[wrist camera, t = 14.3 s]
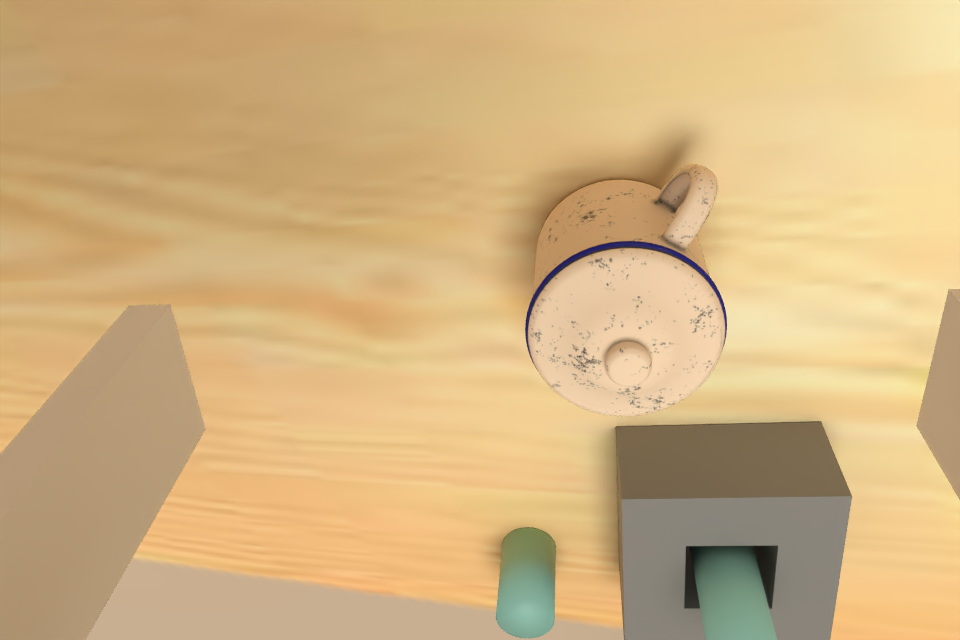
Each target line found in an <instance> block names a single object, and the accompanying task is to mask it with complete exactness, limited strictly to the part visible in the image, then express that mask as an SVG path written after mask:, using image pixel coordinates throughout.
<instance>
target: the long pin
mask: <svg viewBox="0 0 960 640" xmlns="http://www.w3.org/2000/svg"><path fill="white" fill-rule="evenodd" d="M690 551H691V557H692V563H693V569H694V575H695V580H696V586H697V592H698V598H699V604H700V610H701V616H702V621H703V627H704V633H705V639H706V640H777V637H776V633H775V629H774V625H773V622H772V618H771V614H770V610H769V606H768V602H767V598H766V594H765V591H764V587H763V583H762V579H761V575H760V571H759V567H758V564H757V560H756V556H755V552H754V548H753V546H690Z"/></svg>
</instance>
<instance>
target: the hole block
mask: <svg viewBox="0 0 960 640" xmlns="http://www.w3.org/2000/svg"><path fill="white" fill-rule="evenodd" d="M616 448H617V490H618V532H619V571H620V585H621V600H622V615H623V630H624V640H706V639H705V633H704V627H703V621H702V616H701V610H700V604H699V598H698V592H697V586H696V580H695V575H694V569H693V563H692V557H691V551H690V546H753V548H754V552H755V556H756V560H757V564H758V567H759V571H760V575H761V579H762V583H763V587H764V591H765V594H766V598H767V602H768V606H769V610H770V614H771V618H772V622H773V625H774V629H775V633H776V637H777V640H830V637H831V631H832V624H833V617H834V611H835V604H836V598H837V591H838V585H839V578H840V571H841V565H842V558H843V552H844V545H845V539H846V532H847V525H848V519H849V512H850V506H851V499H852V495H851V493H850V490H849V488H848V486H847V483H846V481H845V478H844V476H843V474H842V471H841V469H840V466H839V464H838V462H837V459H836V457H835V454H834V452H833V450H832V447H831V445H830V442H829V440H828V438H827V435H826V433H825V430H824V428H823V426H822V423H821V422H793V423H752V424H710V425H669V426H628V427H616Z"/></svg>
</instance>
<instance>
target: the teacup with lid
mask: <svg viewBox="0 0 960 640" xmlns="http://www.w3.org/2000/svg"><path fill="white" fill-rule="evenodd" d="M717 187H718V185H717V179H716V176H715V174H714V173H713V172H712V171H710V170H709V169H707V168H705V167H704V166H702V165H699V164H690V165H687V166H685V167H683V168H681V169H680V170H678V171H677V172H676V173H675V174H674V175H673V176H672V177H671V178H670V179H669V180H668V182H667V183H666V184H665V186H664V187H663V188H662V190H660V189H658V188H656V187H654V186H652V185H649V184H646V183H642V182H638V181H632V180H608V181H602V182H598V183H594V184H591V185H588V186H586V187H583V188H581V189H579V190H577V191H575V192H574V193H572V194H571V195H569V196H568V197H566V198H565V199H564V200H563V201H561V202H560V203H559V204H558V205H557V206H556V207H555V208H554V210H553V211H552V212H551V213H550V215H549V216H548V218H547V219H546V221H545V223H544V225H543V227H542V229H541V232H540V235H539V238H538V242H537V248H536V262H535V275H534V289H533V298H532V300H531V302H530V305H529V309H528V312H527V317H526V327H525V333H526V342H527V347H528V351H529V354H530V357H531V359H532V362H533V363H534V365H535V367H536V369H537V370H538V372H539V374H540V375H541V376H542V378H543V379H544V381H545V382H546V383H547V384H548V385H549V386H550V387H551V388H552V389H553V390H554V391H555V392H556V393H557V394H559V395H560V396H561V397H563V398H564V399H566V400H567V401H569V402H571V403H572V404H574V405H576V406H578V407H581V408H583V409H585V410H588V411H591V412H595V413H599V414H604V415H610V416H638V415H644V414H649V413H653V412H657V411H660V410H663V409H665V408H668V407H670V406H672V405H674V404H676V403H678V402H680V401H681V400H683V399H685V398H686V397H688V396H689V395H690V394H691V393H693V392H694V391H695V390H696V389H697V388H698V387H700V386H701V385H702V384H703V382H704V381H705V380H706V379H707V378H708V377H709V375H710V374H711V372H712V371H713V369H714V368H715V366H716V364H717V362H718V360H719V358H720V355H721V353H722V350H723V347H724V343H725V338H726V331H727V317H726V311H725V307H724V303H723V300H722V297H721V295H720V293H719V291H718V289H717V287H716V285H715V284H714V282H713V281H712V279H711V278H710V276H709V273H708V270H707V267H706V263H705V260H704V257H703V254H702V250H701V247H700V244H699V241H698V237H697V233H698V232H699V230H700V229H701V227H702V225H703V224H704V222H705V221H706V219H707V217H708V215H709V213H710V211H711V209H712V206H713V204H714V201H715V198H716V194H717ZM682 203H683V204H682ZM681 205H682V206H681Z"/></svg>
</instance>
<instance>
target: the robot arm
mask: <svg viewBox="0 0 960 640" xmlns="http://www.w3.org/2000/svg"><path fill="white" fill-rule="evenodd" d="M917 428H918V429H919V431H920V433H921V434H922V436H923V438H924V440H925V441H926V443H927V445H928V446H929V448H930V450H931V452H932V453H933V455H934V457H935V458H936V460H937V462H938V464H939V465H940V467H941V469H942V470H943V472H944V474H945V475H946V477H947V479H948V481H949V482H950V484H951V486H952V487H953V489H954V491H955V493H956V494H957V496H958V498H959V499H960V289H949V290H948V294H947V299H946V303H945V307H944V311H943V316H942V320H941V324H940V328H939V333H938V337H937V341H936V345H935V350H934V354H933V358H932V362H931V366H930V371H929V375H928V379H927V383H926V388H925V392H924V396H923V400H922V405H921V409H920V413H919V417H918V421H917ZM204 431H205V426H204V422H203V419H202V415H201V412H200V408H199V405H198V401H197V397H196V394H195V390H194V387H193V383H192V380H191V376H190V372H189V369H188V365H187V362H186V358H185V355H184V351H183V348H182V344H181V340H180V337H179V333H178V330H177V326H176V323H175V319H174V316H173V312H172V308H171V305H131V306H128V307H127V309H126V310H125V311H124V312H123V313H122V314H121V316H120V317H119V318H118V319H117V320H116V321H115V322H114V324H113V325H112V326H111V327H110V328H109V329H108V331H107V332H106V333H105V334H104V335H103V336H102V337H101V339H100V340H99V341H98V342H97V343H96V344H95V346H94V347H93V348H92V349H91V350H90V351H89V352H88V354H87V355H86V356H85V357H84V358H83V359H82V361H81V362H80V363H79V364H78V365H77V366H76V367H75V369H74V370H73V371H72V372H71V373H70V374H69V376H68V377H67V378H66V379H65V380H64V381H63V382H62V384H61V385H60V386H59V387H58V388H57V389H56V391H55V392H54V393H53V394H52V395H51V396H50V397H49V399H48V400H47V401H46V402H45V403H44V404H43V406H42V407H41V408H40V409H39V410H38V411H37V412H36V414H35V415H34V416H33V417H32V418H31V419H30V421H29V422H28V423H27V424H26V425H25V426H24V427H23V429H22V430H21V431H20V432H19V433H18V434H17V436H16V437H15V438H14V439H13V440H12V441H11V442H10V444H9V445H8V446H7V447H6V448H5V449H4V451H3V452H2V453H1V454H0V640H86V638H87V636H88V635H89V633H90V631H91V629H92V628H93V626H94V624H95V622H96V621H97V619H98V617H99V615H100V614H101V612H102V610H103V608H104V607H105V605H106V603H107V601H108V600H109V598H110V596H111V594H112V593H113V591H114V589H115V587H116V586H117V584H118V582H119V580H120V578H121V577H122V575H123V573H124V571H125V570H126V568H127V566H128V564H129V563H130V561H131V559H132V557H133V556H134V554H135V552H136V550H137V549H138V547H139V545H140V543H141V542H142V540H143V538H144V536H145V535H146V533H147V531H148V529H149V528H150V526H151V524H152V522H153V521H154V519H155V517H156V515H157V513H158V512H159V510H160V508H161V506H162V505H163V503H164V501H165V499H166V498H167V496H168V494H169V492H170V491H171V489H172V487H173V485H174V484H175V482H176V480H177V478H178V477H179V475H180V473H181V471H182V470H183V468H184V466H185V464H186V463H187V461H188V459H189V457H190V456H191V454H192V452H193V450H194V449H195V447H196V445H197V443H198V441H199V440H200V438H201V436H202V434H203V433H204Z"/></svg>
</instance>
